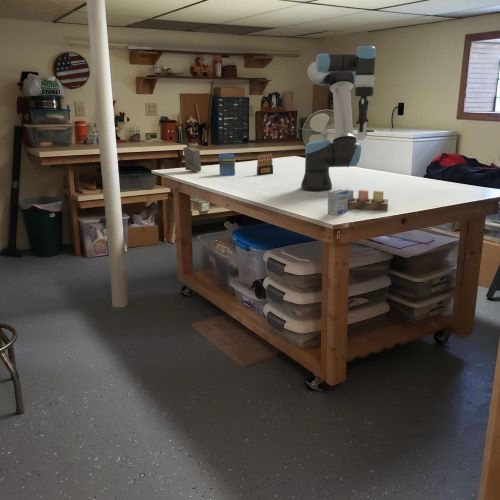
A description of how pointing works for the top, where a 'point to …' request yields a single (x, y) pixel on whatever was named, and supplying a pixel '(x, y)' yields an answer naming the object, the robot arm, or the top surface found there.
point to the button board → (368, 205)
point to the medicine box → (337, 201)
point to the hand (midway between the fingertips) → (361, 138)
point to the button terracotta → (363, 196)
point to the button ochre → (378, 196)
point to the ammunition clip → (264, 165)
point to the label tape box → (227, 164)
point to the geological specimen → (192, 159)
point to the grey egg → (350, 194)
